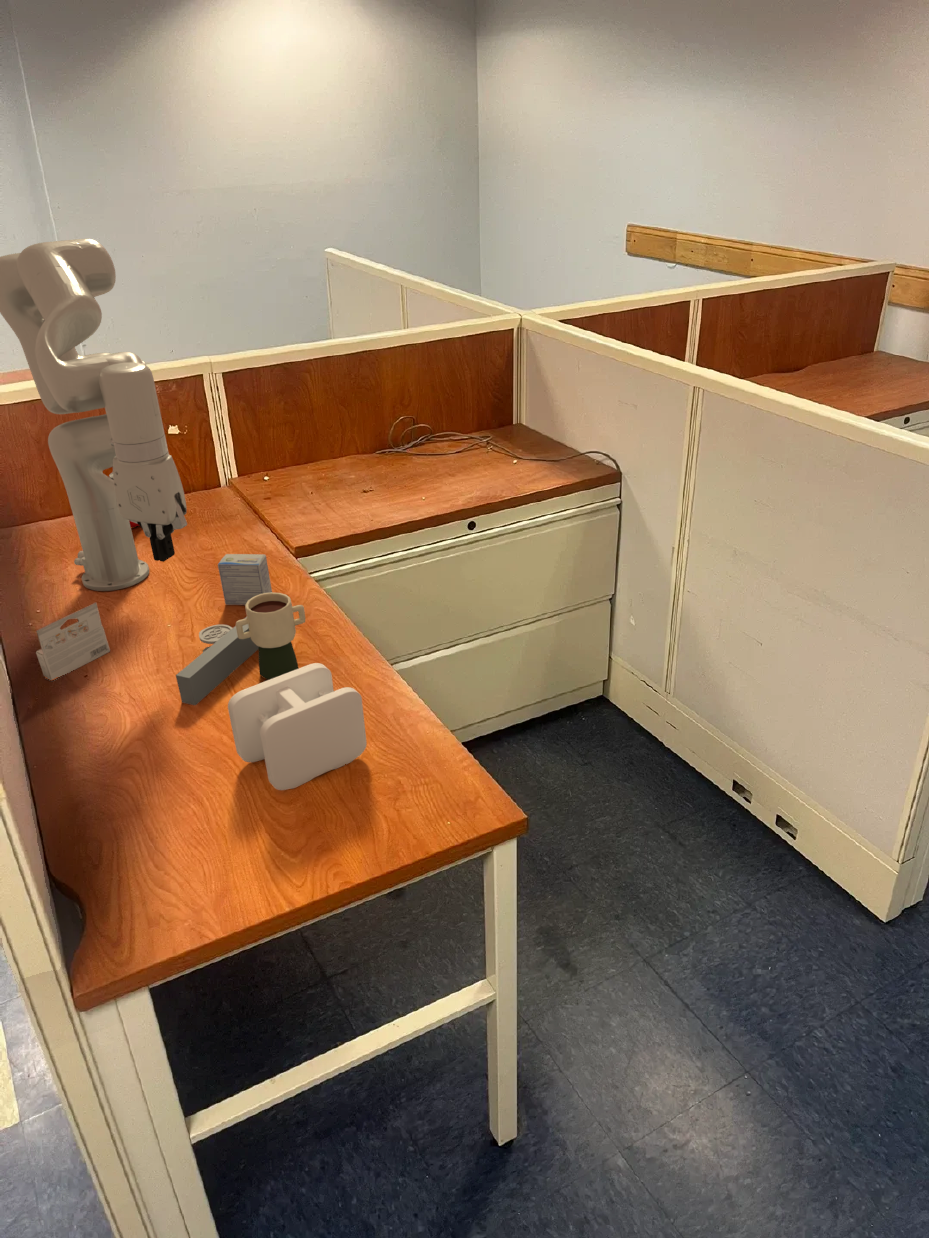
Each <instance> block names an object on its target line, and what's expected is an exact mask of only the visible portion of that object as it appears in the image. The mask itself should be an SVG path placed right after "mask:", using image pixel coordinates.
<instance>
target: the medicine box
mask: <svg viewBox="0 0 929 1238" xmlns="http://www.w3.org/2000/svg"><path fill="white" fill-rule="evenodd" d="M220 559H221V560H220V561H219V562H218V563H217V568H218V572H219V577H220V584H221V589H222V592H223V598H224V604H225V606H245V604H246V603H247V601H248V600H249V599H251V598H252V597H254V596H257V595H259V594H263V593H271V592H273V590H272V583H271V578H270V572H269V566H268V560H267V555H266V554H260V553H259V554H257V553H255V554H254V553H249V554H248V553H226V554H225V555H224V556H223V557H222V558H220Z"/></svg>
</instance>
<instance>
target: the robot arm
mask: <svg viewBox="0 0 929 1238" xmlns="http://www.w3.org/2000/svg"><path fill="white" fill-rule="evenodd" d="M116 276H117V275H116V269H115V264H114V262H113V259H112V257H111V255H110V254H109V252H108V251H107V249H106V248H105V247H104V246H103V245H102V244H101V243H100V242H99V241H97V240H95V239H92V238H78V239H77V238H75V239H65V240H57V241H53V240H52V241H45V242H39V243H38V242H37V243H33V244H32V245H31V244H30V245H29V246H27V247H25V248H24V249H22V251H21V252H18V253H16V252H15V253H11V254H6V255H1V256H0V314H1V316H2V317H3V319H4V321H5V322H6V323H7V324H8V326H9V327H10V328H11V330H12V331H13V332H14V334H15V336H16V337H17V339H18V341H19V343H20V345H21V348H22V350H23V353H24V356H25V358H26V362H27V365H28V368H29V370H30V373H31V375H32V379H33V382H34V384H35V387H36V389H37V390H36V391H38V395H39V397H40V399H41V402H42V404H43V406H44V407H45V409H47V411H48V412H50V413H52V414H55V415H67V414H68V415H69V414H74V413H75V414H76V413H78V414H79V413H84V412H89V411H95V410H99V409H105V414H100V415H93V416H89V417H83V418H79V419H74V420H69V421H66V422H63V423H60V424H59V425H57V426H55V427H53V429H51V431H50V432H49V435H48V437H47V445H48V448H49V452H50V454H51V456H52V459H53V461H54V463H55V465H56V468H57V469H58V472H59V475H60V477H61V479H62V482H63V485H64V488H65V491H66V494H67V497H68V502H69V506H70V509H71V512H72V515H73V519H74V523H75V527H76V531H77V535H78V538H79V542H80V545H81V549H82V550H79V552H78V553H77V557H75V558H74V560H73V562H74V563H73V564H74V565H76V566H83V570H84V572H83V574H82V576H81V581H82V584H83V586H84V587H85V588H86V589H89V590H92V591H98V592H99V591H100V592H109V591H117V590H118V591H119V590H122V589H125V588H129V587H132V586H135V585H137V584H138V583H141V582H142V581H143V580H145V579H146V578H147V577H148V576H149V574H150V567H149V564H148V562H146V561H144V560H142V559H139V556H138V552H137V548H136V544H135V541H134V536H133V532H132V531H133V530H132V528H131V526H130V522H129V521H131V522H134V523H136V524H138V525H139V526H140V527H139V528H141V529H142V530H143V534H144V536H145V537H146V538H149V543H150V547H151V551H152V556H153V559H154V561H157V562H159V561H160V562H161V563H162V562H163V563H164V562H166V561H168V560H169V559H170V558H172V557H173V556H175V552H176V551H175V547H174V542H173V538H172V534H173V533H174V532H175V530H181V529H183V528H185V527H187V525H188V522H187V519H186V517H185V515H187V502H186V495H185V491H184V488H183V484H182V481H181V477H180V474H179V472H178V469H177V466H176V463H175V461H174V459H173V457H172V455H170V453H169V449H168V444H167V439H166V434H165V430H164V424H163V419H162V414H161V413H162V412H161V409H160V404H159V399H158V394H157V389H156V384H155V381H154V380H155V379H154V375H153V372H152V370H151V368H150V367H148V365H147V364H146V362H145V361H144V360H142V359H141V358H140V357H139V356H138V355H137V354H136V353H135V352H130V351H120V352H115V353H112V352H95V353H91V354H90V353H89V354H83V355H81V354H79V353H78V351H77V349H76V347H77V346H78V345H80V344H81V343H83V342H85V341H86V340H88V339H89V338H91V337H92V336H93V335H94V334H95V332H97V330H98V329H99V327H100V325H101V323H102V317H103V316H102V315H103V313H102V310H101V307H100V305H99V303H98V301H97V300H96V297H99V296H101V295H105V294H108V293H110V291H112V290H113V288H114V287H115V284H116ZM108 469H112V472H113V480H112V479H111V478H110V477H109V475H108V476H107V475H106V474H105V473H103V471H105V470H108Z"/></svg>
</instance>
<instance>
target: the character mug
mask: <svg viewBox="0 0 929 1238" xmlns="http://www.w3.org/2000/svg"><path fill="white" fill-rule="evenodd" d="M287 595H288V594H285V593H282V592H273V591H272V592H271V593H263V594H259V595H257V596H254V597H252V598H251V599H249V600H248V601H247V603H246V604H245V605H244V606H245V614H246V617H247V618H246V617H244V618H245V619H244V618H243V619H238V620H236V622H235V626H236V630H237V635H238V638H239V639H246V638H250V637H251V640H252V641H253V642H254V643H255V644H256V645H257V646H259V649H258V669H259V671H258V672H259V676H261V677H262V678H263V679H266V680H270V679H273V678H275V677H278V676H281V675H283V674H286V673H288V672H291V671H294V670H296V669H299V664H298V659H297V656H296V653H295V649H294V647H293V643H292V641H293V640H294V638H295V636H296V633H297V631H296V626H298V625H301V624H304V623H306V611H305V607H304V605H303V604H297V605H294V606H293V604H292V599H291V597H290V596H287ZM297 612H298V618H296V619H295V617H294V616H295V615H294V613H297ZM247 624H248V626H249V632H245V633H244V632H243V627H242V626H243V625H247Z"/></svg>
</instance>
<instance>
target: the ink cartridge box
mask: <svg viewBox="0 0 929 1238" xmlns="http://www.w3.org/2000/svg"><path fill="white" fill-rule="evenodd" d="M98 607H99V606H98V603H97V602H93V603H92V604H89V605H87V606H85V607H83V608H81V609H79V610H77V611H74V612H72V613H70V614H68V615H65V616H64V617H62V618H59V619H58V620H55V621H52V622H51V623H49V624H47V625H44V626H43V627H41V628H38V629H36V630H35V631H36V634H37V635H36V636H37V638H38V641H39V644H40V649H38V650H36V652H35V654H36V657H37V659H38V663H39V665H40V668H41V671H42V675H43V677H44V676H45V677H47V678H48V679H50V680H52V679H54V678H56V677H60V676H62V675H64V676H66V675H68V674H70V673H71V671H72V672H74V671H75V670H78V669H79V668H81V667H83V666H85V665H87V664H89V663H91V662H93V661H95V660H97V659H98V658H100V657H102V656H105V655H107V654H108V653H110V652H111V647H110V646H109V642H108V639H107V636H106V632H105V629H104V626H103V624H102V620H101V617H100V616H101V615H100V611H99V608H98ZM76 619H77V621H76V622H74V623H73V624H72V623H71V624H70V625H68V626H66V627H64V628H61V627H62V626H63V625H64V624H65V623H66V622H67V621H68V620H76ZM73 670H74V671H73ZM67 673H68V674H67ZM65 674H66V675H65ZM62 677H63V676H62ZM60 678H61V677H60ZM48 679H47V680H48ZM50 680H49V681H50Z"/></svg>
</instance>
